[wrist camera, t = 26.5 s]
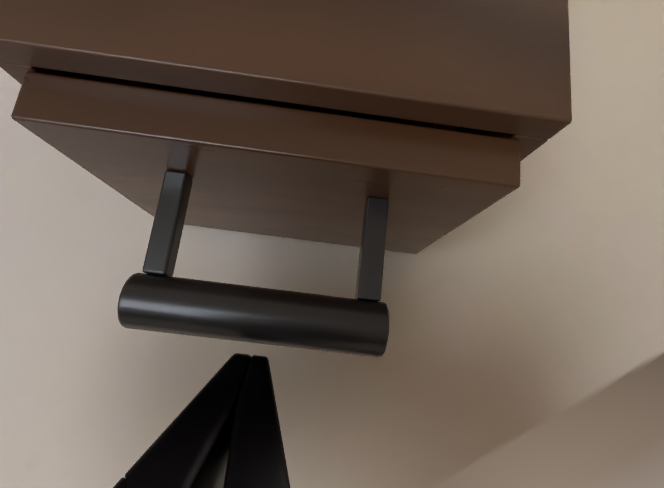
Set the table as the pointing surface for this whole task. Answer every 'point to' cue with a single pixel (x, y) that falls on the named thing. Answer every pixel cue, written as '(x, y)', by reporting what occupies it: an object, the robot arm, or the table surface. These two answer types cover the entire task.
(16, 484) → the table surface
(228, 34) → the cabinet
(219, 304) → the drawer
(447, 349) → the table surface
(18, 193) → the table surface
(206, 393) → the robot arm
